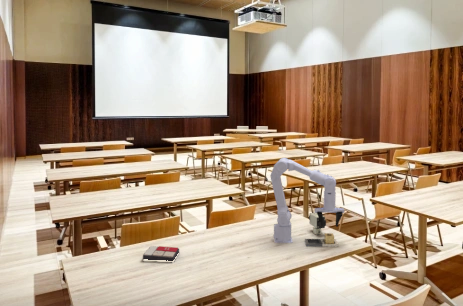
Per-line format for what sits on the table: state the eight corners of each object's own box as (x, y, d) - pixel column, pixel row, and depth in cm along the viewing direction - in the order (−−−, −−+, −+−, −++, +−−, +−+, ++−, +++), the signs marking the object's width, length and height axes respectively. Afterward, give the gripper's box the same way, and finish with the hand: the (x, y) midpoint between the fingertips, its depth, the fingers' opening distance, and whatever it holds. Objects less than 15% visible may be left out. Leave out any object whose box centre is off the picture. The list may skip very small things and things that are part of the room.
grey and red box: (173, 256, 174) (142, 253, 176) (173, 265, 174) (142, 262, 176) (179, 246, 185) (150, 244, 186) (179, 255, 185) (150, 252, 187)
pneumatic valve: (318, 238, 200) (318, 216, 198) (308, 230, 211) (308, 210, 209) (327, 236, 201) (327, 215, 200) (317, 229, 213) (317, 209, 211)
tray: (306, 247, 189) (306, 244, 189) (304, 241, 196) (304, 238, 195) (338, 247, 188) (338, 244, 187) (335, 241, 194) (335, 238, 194)
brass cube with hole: (325, 245, 189) (325, 235, 188) (324, 242, 193) (324, 232, 192) (334, 245, 189) (334, 236, 188) (332, 242, 193) (332, 232, 192)
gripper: (316, 202, 184) (315, 228, 186) (346, 202, 183) (345, 228, 185) (314, 198, 191) (313, 223, 193) (342, 198, 190) (342, 224, 192)
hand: (329, 226), depth 190 cm, fingers open, 7 cm apart
